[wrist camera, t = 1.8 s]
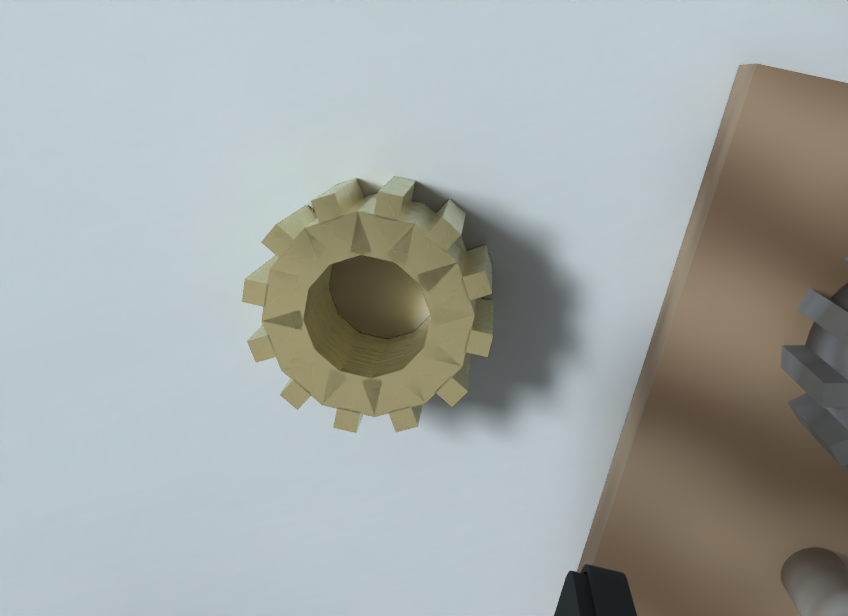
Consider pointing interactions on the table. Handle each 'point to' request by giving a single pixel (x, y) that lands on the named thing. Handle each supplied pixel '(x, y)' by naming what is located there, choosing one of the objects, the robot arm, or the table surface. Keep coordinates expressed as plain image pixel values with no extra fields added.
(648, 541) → the gear board
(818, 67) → the table surface
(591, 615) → the robot arm
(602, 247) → the table surface
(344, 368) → the brass gear
